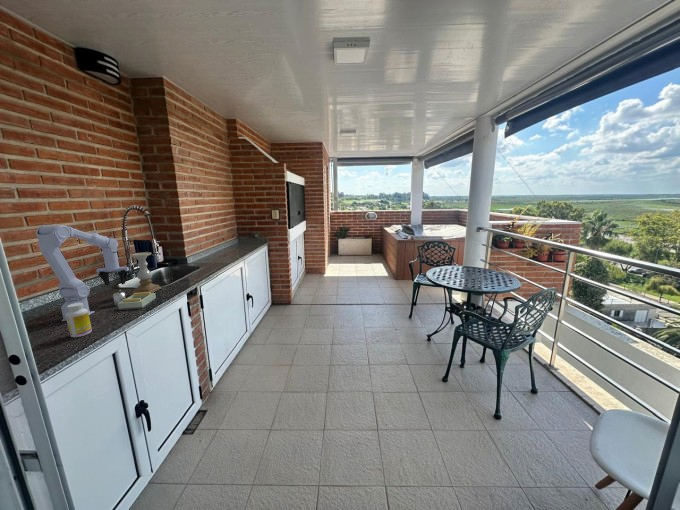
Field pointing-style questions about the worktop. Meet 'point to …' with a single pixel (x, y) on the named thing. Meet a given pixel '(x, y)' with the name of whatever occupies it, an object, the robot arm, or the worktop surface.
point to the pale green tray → (137, 301)
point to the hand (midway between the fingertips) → (115, 284)
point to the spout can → (119, 297)
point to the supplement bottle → (78, 320)
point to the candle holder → (144, 275)
